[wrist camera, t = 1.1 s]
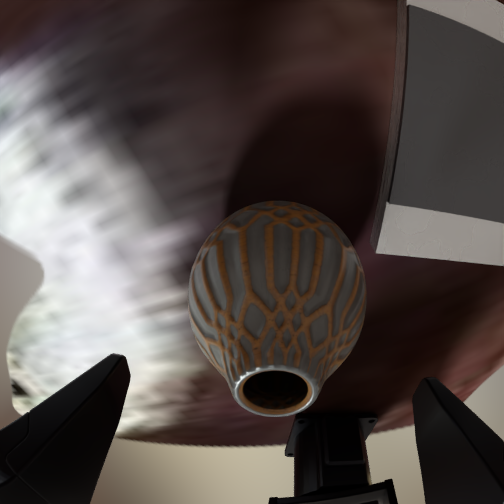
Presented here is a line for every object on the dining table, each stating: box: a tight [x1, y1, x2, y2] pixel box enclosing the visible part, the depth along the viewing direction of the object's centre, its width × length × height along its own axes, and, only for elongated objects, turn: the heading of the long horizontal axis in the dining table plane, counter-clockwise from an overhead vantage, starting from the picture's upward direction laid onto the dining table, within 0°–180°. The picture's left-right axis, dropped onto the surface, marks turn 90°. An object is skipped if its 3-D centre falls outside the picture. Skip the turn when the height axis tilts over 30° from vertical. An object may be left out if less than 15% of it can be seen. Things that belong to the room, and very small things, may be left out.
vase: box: [188, 201, 367, 417], centre depth 12 cm, size 7×7×9 cm
